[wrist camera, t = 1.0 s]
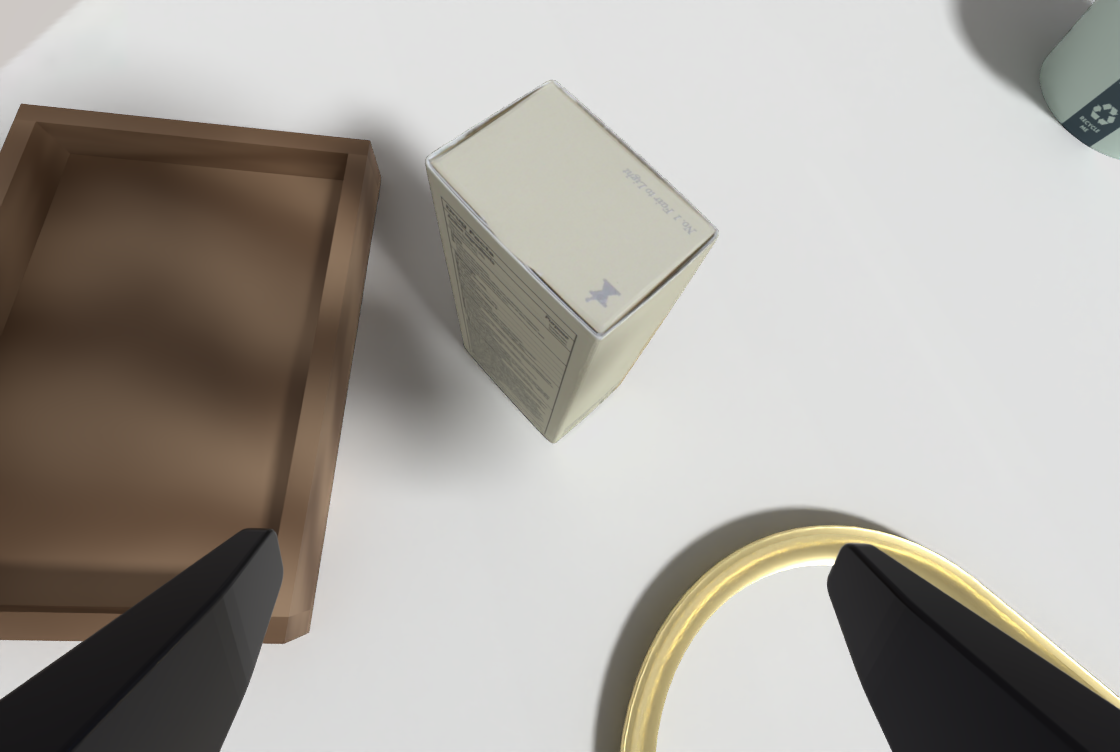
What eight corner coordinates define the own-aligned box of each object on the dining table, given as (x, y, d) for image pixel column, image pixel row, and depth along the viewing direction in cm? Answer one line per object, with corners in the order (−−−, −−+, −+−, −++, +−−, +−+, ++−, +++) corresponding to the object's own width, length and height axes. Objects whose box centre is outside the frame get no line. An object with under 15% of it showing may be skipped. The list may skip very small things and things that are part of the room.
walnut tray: (309, 632, 20) (284, 643, 17) (-118, 625, 18) (-207, 636, 16) (381, 177, 26) (369, 140, 24) (66, 146, 25) (20, 103, 22)
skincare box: (621, 384, 24) (737, 236, 13) (549, 450, 23) (605, 350, 11) (528, 287, 25) (558, 67, 14) (453, 344, 24) (417, 155, 12)
